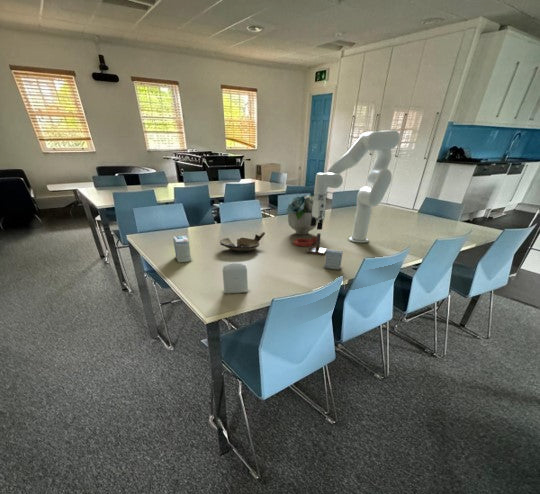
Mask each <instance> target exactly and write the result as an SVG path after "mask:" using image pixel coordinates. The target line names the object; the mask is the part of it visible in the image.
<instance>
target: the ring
mask: <svg viewBox="0 0 540 494" xmlns="http://www.w3.org/2000/svg"><path fill="white" fill-rule="evenodd" d="M316 240H317V235H316V236H315V235H314V236H310V238H303V237H301V238H295V239H294V240H293V244H294V245H295V246H298V247H304V248H306V247H307V248H308V247H313V245H316Z"/></svg>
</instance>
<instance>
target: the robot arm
mask: <svg viewBox="0 0 540 494" xmlns="http://www.w3.org/2000/svg"><path fill="white" fill-rule="evenodd" d="M400 141H401V134H400V133H399V131H398V130H395V129H392V130H391V129H388V130H387V129H386V130H380V131H366V132H365V131H364V132H363V133H362V134H361V135H360V136H359V138H357V140H356V141H355V142H354V144H353V145H351V147H350V148H349V149H348V151H347V152H346V153H345V154H344V155H342V156H341V157H340V158H339V159H337V160H336V161H335V162H333V164H332V165H331V166H330V167H329V168H328V170H327V171H326V172H317V173H316V175H315V179H314V180H315V181H314V190H313V196H314V197H313V196H312V197H313V200H314V201H313V207H312V211H311V213H312V214H311V216H312V217H311V226H316V230H319V231H320V230H323V224H324V220H325V218H326V206H327V201H326V200H327V196H328V195H327V194H328V189H329V188H331V189H339V188H340V187H341V186H342V185H343V181H344V178H343V176H342V175H341V174H342V173H344V172H345V171H348V170H349V169H351V168H354V167H356V166H357V165H358V164H359V163H360V161H361V160H362V159H363V158H364V157H365V155H366V154H367V153H368V152H369V151H376V156H375V159H374V163H373V164H372V166H371V169H370V170H369V173H368V175H367V183H368V185H370V186H372V187H370V186H363V187H361V188H360V189H359V191H358V192H357V195H356V210H355V216H354V221H353V227H352V234H351V236H350V237H348V240H349V242H352V243H357V244H364V243H365V244H366V243H368V242H369V238H367V237H368V232H369V227H370V222H371V216H372V207H377V206H379V204H380V203H381V202H382V200H383V198H384V197H385V195H386V193H387V190H388V189H389V187H390V184H391V182H392V177H393V176H392V172H391V171H390V169H389V166H390V163H391V160H392V150H393V149H395V148H397V146H398V145H399V143H400ZM316 218H317V219H318V223H317V225H316Z"/></svg>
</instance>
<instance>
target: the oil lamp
mask: <svg viewBox="0 0 540 494" xmlns="http://www.w3.org/2000/svg"><path fill="white" fill-rule="evenodd" d="M265 235H266V232H265V231H263V232H261V233H260V234H255V235H254V238H248V237H240V238H237V239H236V245H235V243H233V242H232V241H231V239H230V238H229V237H224V238H222V239H221V240H220V242H219V243H220V244H219V245H220V246H222V247H225V248H227V249H230V250H233V251H236V252H249V251H252V250H254V249H256V248H258V247H260V240H261V239H262V238H263V237H264V236H265Z"/></svg>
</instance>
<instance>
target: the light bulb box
mask: <svg viewBox="0 0 540 494" xmlns="http://www.w3.org/2000/svg"><path fill="white" fill-rule="evenodd" d="M172 240H173V247H174V253H175V258H176V260H177V262H178V263H188V262H192V258H191V250H190V249H191V248H190V241H189V239H188V238H187V236H186V235H178V236H172Z"/></svg>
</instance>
